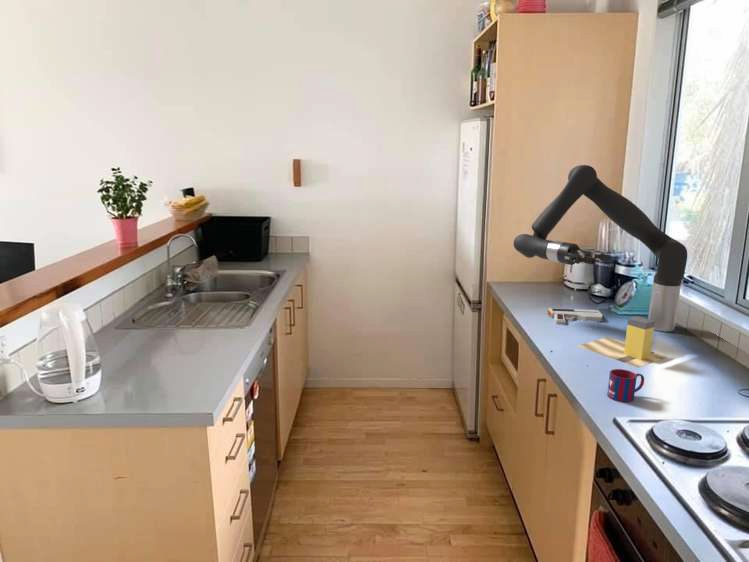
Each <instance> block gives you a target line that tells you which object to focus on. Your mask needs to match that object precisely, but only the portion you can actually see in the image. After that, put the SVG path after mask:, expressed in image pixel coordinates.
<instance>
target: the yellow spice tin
mask: <svg viewBox="0 0 749 562" xmlns="http://www.w3.org/2000/svg"><path fill="white" fill-rule="evenodd" d="M654 325H655V321H653V320H650V319H648V318H646V317H642V316H638V315H637V316H633V317H630V318H627V326H626V334H625V340H624V342H625V348H624V355H627V356H630V357H633V358H636V359H639V360H643V359H646V358H649V357H650V354H651V351H652V346H653V338H654V331H655V330H654Z"/></svg>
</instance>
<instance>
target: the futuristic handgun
mask: <svg viewBox="0 0 749 562" xmlns="http://www.w3.org/2000/svg"><path fill="white" fill-rule="evenodd" d="M547 315H548V316H549V318H550V317H551V319H554V324H556V325H560V324H564V325H563V326H565V325H566V323H567V322H566V321H568V320H569V321H571V320H577V319H579V320H578V321H581V320H583V321H582V322H587V321H592V322H595V321H603V314H602V313H601V312H600V310H598V309H581V308H579V309H577V308H556V307H555V308H554V307H553V308H552V307H551V308H548V309H547Z"/></svg>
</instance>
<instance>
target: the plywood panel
mask: <svg viewBox="0 0 749 562" xmlns="http://www.w3.org/2000/svg"><path fill="white" fill-rule="evenodd" d="M577 347H579V348H581V349H584V350H587V351H590V352H594V353H596V354H598V355H602V356H604V357H608V358H610V359H612V360H616V361H619V362H622V363H624V364H627V365H630V366H632V367H636V368H641V367H643V366H646V365H649V364H652V363H656V362H658V361H661V360H663V359H667V358H669V356H668V355H665V354H661V353H658V352H655V351H652V350H651V354H650V357H649V358H646V359H643V360H639V359H636V358H633V357H630V356H627V355H624V348H625V341H621V340H618V339H615V338H612V337H608V336H607V337H602V338H600V339H597V340H593V341H588V342H586V343H582V344H578V345H577Z"/></svg>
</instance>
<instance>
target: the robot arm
mask: <svg viewBox="0 0 749 562" xmlns="http://www.w3.org/2000/svg"><path fill="white" fill-rule="evenodd" d="M595 169H596V168H594V167H592V166H591V165H588V164H581V165H577V166H574V167H573V168H571V170H570V171H569V172H568V175H567V179H568V180H567V183H566V184H565V186H564V187H563V189H562V190H561V192H560V193H558V195H557V196H556V197H555V198H554V200H552V201H551V202H550V203H549V205H547V206H546V208H544V210H543V211H542V212H541V213H540V214H539V216H538V217H537V218H536V219H535V221H534V222H533V223H532V224H531V229H532V231H533V234H527V233H524V234H523V233H522V234H519V235H517V236H516V237H515V238H514V240H513V247H514V249H515V250H516V252H519V253H520V254H521V255H523V257H526V258H528V259H531V258H534V257H538V258H540V259H542V260H548V261H552V262H555V263H559V264H564V265H569V266H573V265H575V264H577V265H579V264H587V265H588V264H589V265H592V266H593V265H596V262H597V261H604V262H611V261H612V255H611V254H605V252H604V251H600V250H594V249H580V246H579V245H578V244H576V243H573V242H566V241H561V240H550V239H547V238H548V236H549V234H550V233H551V232H552V231H553V230H554V228H556V226H557V225H558V223H559V222H560V221H561V220H562V219H563V217H565V215H566V214H567V212H568V211H569V210H570V208H572V206H573V205H574V204H576V202H577V201H578V200H579V199H580V198H581V197H582V196H585V198H587V199H589V200H590V201H591V202H592V203H594V204H595V205H596V206H597V208H599V209H600V211H601V212H603V214H605V216H606V217H608V218H609V219H610V221H612V222H613V223H614V224H616V226H618V227H619V228H620V229H622V230H623V231H625V232H626V233H627V234H629V235H630V236H632V237H634V238H635V239H637V240H638V241H640V242H641V243H642V244H643V245H644V246H646V247H647V248H648V249H649V251H650V252H651V253H653V255H654V256H655V257H656V258H657V260H658V262H657V267H656V273H655V274H654V275H653V279H652V280H653V281H652V288H651V296H650V303H649V308H648V309H649V310H648V318H647V319H650V320H653V321H655V325H654V331H656V332H657V331H659V332H673V331H675V328H676V323H677V316H678V309H679V299H680V296H681V295H680V293H681V286H682V282H683V279H684V277H685V274H686V273H685V272H686V269H687V268H686V267H687V262H688V250H687V247H686V246H685V245H684V244H683V243H681V242H680V241H678V240H676V239H675V238H672V236H669V235H668V234H667V233H666V232H663V231H662V230H661V229H660V228H658V227H657V225H655V224H654V223H653V222H652V220H651V219H650V218H649V216H647V214H646V213H645V212H644V211H642V210H641V209H640V207H638V206H637V205H636V204H634V203H633V202H632V201H631V200H629V198H626V196H623V195H622V194H620V193H618V192H617V191H615V190H613V189H611V188H610V187H609V186H607V185H606V184H605V183H604V182H603V181H602V180H601V179H600V178H599V177H598V174H597V171H596V170H595Z"/></svg>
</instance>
